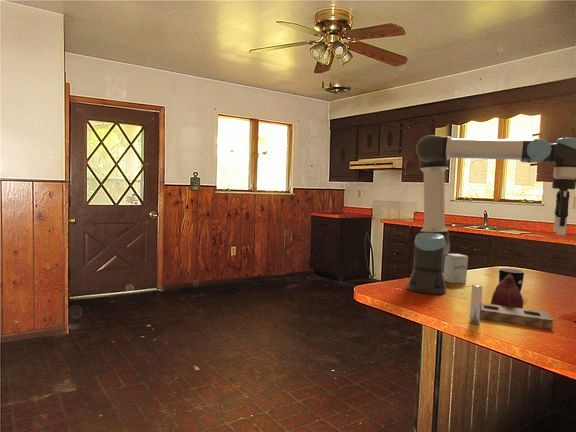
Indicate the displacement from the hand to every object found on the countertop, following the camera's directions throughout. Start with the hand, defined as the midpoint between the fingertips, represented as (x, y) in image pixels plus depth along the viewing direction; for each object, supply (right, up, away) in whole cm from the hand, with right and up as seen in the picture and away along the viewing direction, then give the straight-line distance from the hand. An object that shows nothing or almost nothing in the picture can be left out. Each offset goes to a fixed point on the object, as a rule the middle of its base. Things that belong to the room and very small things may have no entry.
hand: (559, 233), depth 163 cm
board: (-32, -27, -25) cm, 49 cm away
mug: (-13, -26, +11) cm, 31 cm away
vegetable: (-27, -27, -12) cm, 40 cm away
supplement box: (-29, -24, +30) cm, 48 cm away
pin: (-46, -27, -30) cm, 62 cm away
